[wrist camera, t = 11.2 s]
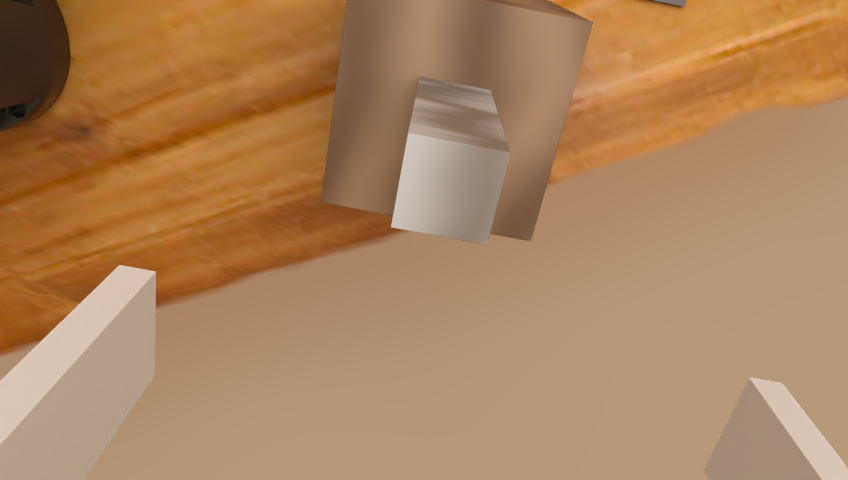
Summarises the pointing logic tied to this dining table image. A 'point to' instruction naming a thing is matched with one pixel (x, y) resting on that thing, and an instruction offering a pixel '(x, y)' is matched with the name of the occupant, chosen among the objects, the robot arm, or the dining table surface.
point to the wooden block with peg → (452, 112)
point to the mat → (674, 2)
